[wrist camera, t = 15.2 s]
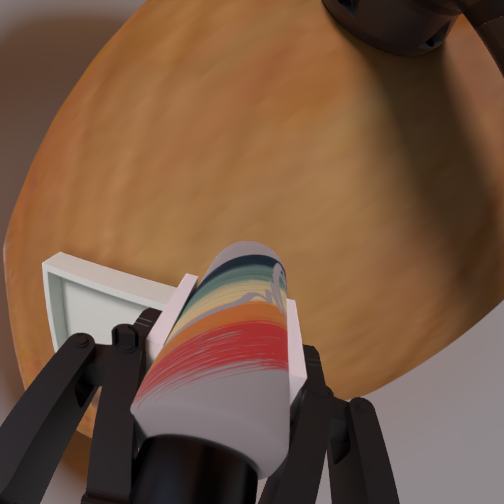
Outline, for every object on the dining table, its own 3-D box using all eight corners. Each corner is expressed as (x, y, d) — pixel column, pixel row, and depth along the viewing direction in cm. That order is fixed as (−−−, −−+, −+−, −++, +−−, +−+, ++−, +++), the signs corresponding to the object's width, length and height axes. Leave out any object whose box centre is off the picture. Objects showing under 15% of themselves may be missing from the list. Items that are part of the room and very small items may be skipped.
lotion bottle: (300, 281, 21) (324, 586, 2) (243, 318, 23) (184, 576, 4) (254, 223, 20) (133, 572, 1) (197, 267, 22) (42, 518, 3)
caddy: (65, 248, 28) (42, 262, 24) (218, 292, 29) (211, 316, 25) (77, 366, 35) (63, 385, 30) (194, 407, 36) (188, 431, 31)
